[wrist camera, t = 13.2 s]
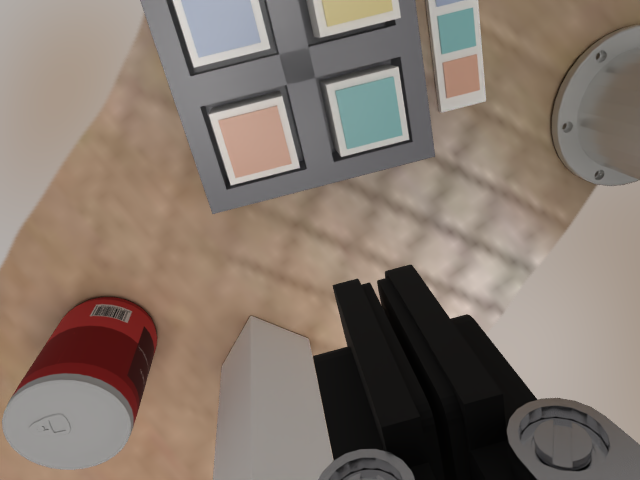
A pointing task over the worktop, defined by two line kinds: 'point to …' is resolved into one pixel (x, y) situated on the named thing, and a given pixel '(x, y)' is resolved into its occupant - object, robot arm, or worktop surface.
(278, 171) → the key terracotta
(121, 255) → the worktop surface
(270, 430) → the milk
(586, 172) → the robot arm
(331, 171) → the keypad
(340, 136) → the key teal
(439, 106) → the strip
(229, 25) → the key slate
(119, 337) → the canned food
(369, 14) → the key mustard
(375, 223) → the worktop surface
